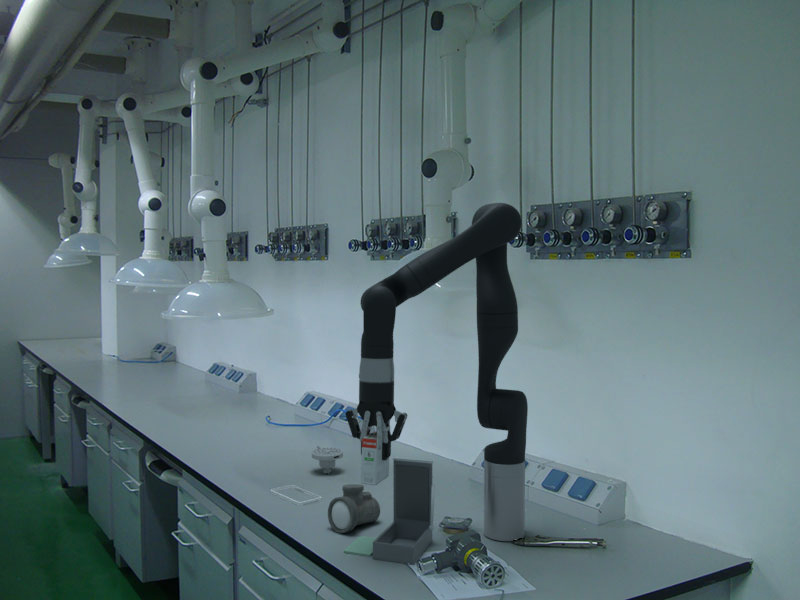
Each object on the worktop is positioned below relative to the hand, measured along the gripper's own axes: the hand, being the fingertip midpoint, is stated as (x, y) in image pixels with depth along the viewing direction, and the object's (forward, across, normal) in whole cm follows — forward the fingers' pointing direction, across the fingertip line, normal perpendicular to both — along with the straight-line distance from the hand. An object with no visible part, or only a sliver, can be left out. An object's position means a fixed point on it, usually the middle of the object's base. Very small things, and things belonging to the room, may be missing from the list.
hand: (375, 458), depth 146 cm
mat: (+20, +3, -2) cm, 20 cm away
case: (+20, -6, -3) cm, 21 cm away
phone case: (+20, +32, -29) cm, 48 cm away
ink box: (+5, 0, 0) cm, 5 cm away
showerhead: (+19, +34, -53) cm, 65 cm away
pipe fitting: (+20, +9, -13) cm, 25 cm away
